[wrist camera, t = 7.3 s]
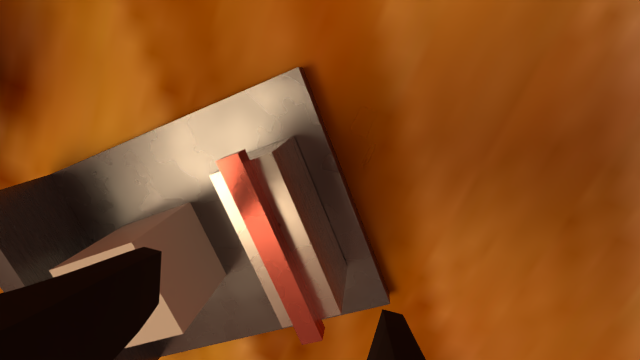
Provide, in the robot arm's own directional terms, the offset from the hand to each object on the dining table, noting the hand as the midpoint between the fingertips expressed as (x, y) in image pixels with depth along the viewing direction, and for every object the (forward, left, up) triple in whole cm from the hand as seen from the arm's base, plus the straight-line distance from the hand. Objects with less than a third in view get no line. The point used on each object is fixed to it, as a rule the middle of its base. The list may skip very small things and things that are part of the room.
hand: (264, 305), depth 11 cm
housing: (0, +9, -8) cm, 12 cm away
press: (0, +7, -9) cm, 12 cm away
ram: (0, +1, -8) cm, 8 cm away
